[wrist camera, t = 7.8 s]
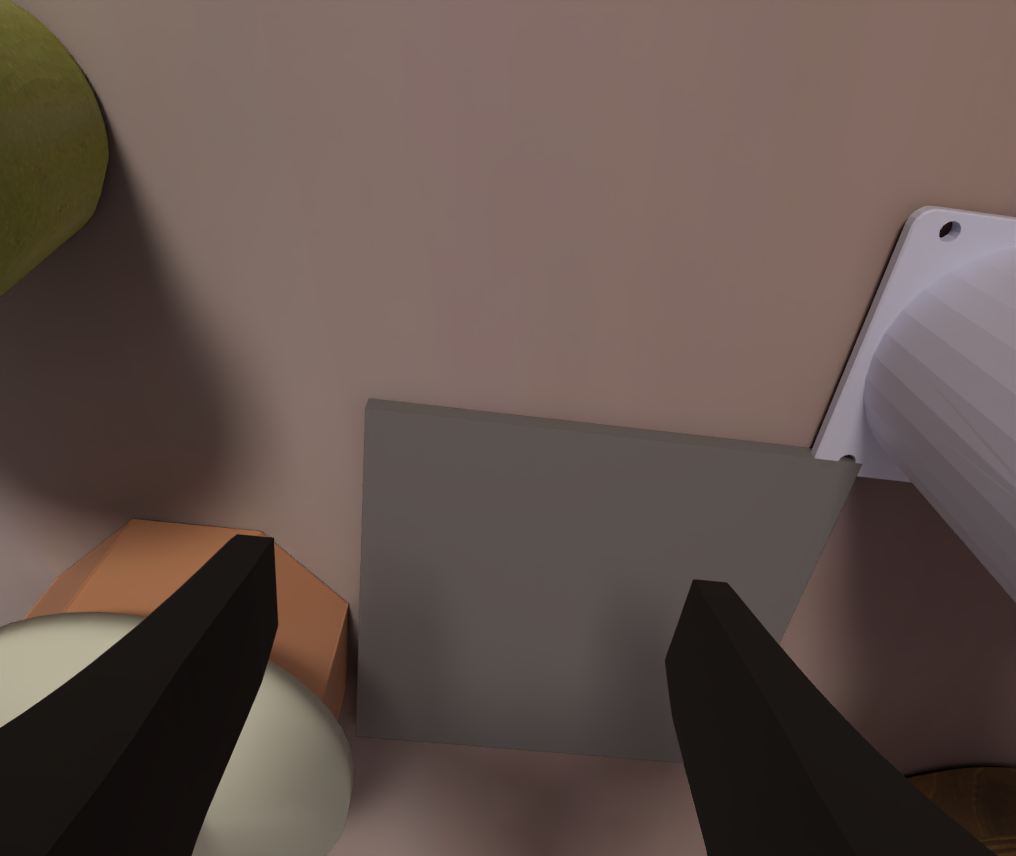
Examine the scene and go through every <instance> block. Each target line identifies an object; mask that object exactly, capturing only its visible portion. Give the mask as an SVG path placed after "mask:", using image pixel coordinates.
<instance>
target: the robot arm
mask: <svg viewBox="0 0 1016 856" xmlns="http://www.w3.org/2000/svg"><path fill="white" fill-rule="evenodd" d="M951 221H952V223H953V224H952V229H951V230H950V232H949V233H948V234H947V235H945V236H944V237H941V238H940V237H939V233H940V230H941V228H942V227H943V225H945V224H946V223H948V222H951ZM811 453H812V455H813V456H814V458H816V459H824V460H833V461H839V460H840V458H841V457H843V456H845V455H850V457H851V458H852V459H853V460H854V462H855V463H860V464H862V466H861V469H860V471H859V473H858V475H857V477H866V478H875V479H884V480H893V481H902V482H911V483H913V485H914V486H915V487H916V488H917V489H918V490H919V492H920V493H921V494H922V495H923V496H924V497H925V499H926V500H927V501H928V502H929V503H930V504H931V505H932V507H933V508H934V509H935V510H936V511H937V512H938V514H939V515H940V516H941V517H942V518H943V519H944V521H945V522H946V523H947V524H948V525H949V526H950V528H951V529H952V530H953V531H954V532H955V533H956V534H957V536H958V537H959V538H960V539H961V540H962V541H963V543H964V544H965V545H966V546H967V547H968V548H969V550H970V551H971V552H972V553H973V554H974V555H975V556H976V558H977V559H978V560H979V561H980V562H981V563H982V565H983V566H984V567H985V568H986V569H987V570H988V572H989V573H990V574H991V575H992V576H993V577H994V579H995V580H996V581H997V582H998V583H999V584H1000V585H1001V587H1002V588H1003V589H1004V590H1005V591H1006V592H1007V594H1008V595H1009V596H1010V597H1011V598H1012V599H1013V601H1014V602H1015V603H1016V217H1011V216H1003V215H996V214H989V213H981V212H974V211H967V210H960V209H952V208H945V207H938V206H924V207H922V208H920V209H917V210H916V211H915V212H914V213H913V214H911V215H910V216H909V218H908V220H907V221H906V223H905V225H904V228H903V230H902V233H901V235H900V237H899V240H898V242H897V245H896V247H895V250H894V252H893V254H892V257H891V259H890V262H889V264H888V266H887V269H886V271H885V274H884V276H883V279H882V281H881V283H880V286H879V288H878V291H877V293H876V295H875V298H874V300H873V303H872V305H871V308H870V310H869V312H868V315H867V317H866V320H865V322H864V325H863V327H862V329H861V332H860V334H859V337H858V339H857V341H856V344H855V346H854V349H853V351H852V354H851V356H850V358H849V361H848V363H847V366H846V368H845V370H844V373H843V375H842V378H841V380H840V383H839V385H838V387H837V390H836V392H835V395H834V397H833V400H832V402H831V404H830V407H829V409H828V412H827V414H826V416H825V419H824V421H823V424H822V426H821V429H820V431H819V433H818V436H817V438H816V441H815V443H814V445H813V448H812V450H811ZM825 468H826V469H827V467H825ZM828 468H829V467H828ZM825 471H826V470H825ZM277 629H278V607H277V587H276V568H275V549H274V538H272V537H262V536H252V535H242V534H236V535H235V536H234V537H232V538H231V539H230V540H229V541H228V542H227V543H226V544H225V545H224V546H223V547H222V548H221V549H219V550H218V551H217V552H216V553H215V554H214V555H213V556H212V557H211V558H210V559H209V560H208V561H207V562H206V563H205V564H204V565H203V566H202V567H201V568H200V569H199V570H198V571H197V572H196V573H195V574H194V575H192V576H191V577H190V578H189V579H188V580H187V581H186V582H185V583H184V584H183V585H182V586H181V587H180V588H179V589H177V590H176V591H175V592H174V593H173V594H172V595H171V596H170V597H169V598H167V599H166V600H165V601H164V602H163V603H162V604H161V605H160V606H159V607H157V608H156V609H155V610H154V611H153V612H152V613H151V614H150V615H148V616H147V617H146V618H145V619H144V620H143V621H142V622H140V623H139V624H138V625H137V626H136V627H135V628H133V629H132V630H131V631H130V632H129V633H127V634H126V635H125V636H124V637H122V638H121V639H120V640H119V641H118V642H116V643H115V644H114V645H113V646H111V647H110V648H109V649H108V650H107V651H105V652H104V653H103V654H102V655H100V656H99V657H98V658H97V659H95V660H94V661H93V662H92V663H90V664H89V665H88V666H87V667H85V668H84V669H83V670H81V671H80V672H79V673H77V674H76V675H75V676H73V677H72V678H71V679H69V680H68V681H67V682H65V683H64V684H63V685H61V686H60V687H59V688H57V689H56V690H55V691H53V692H52V693H50V694H49V695H47V696H46V697H45V698H43V699H42V700H40V701H39V702H38V703H36V704H35V705H33V706H32V707H30V708H29V709H28V710H26V711H25V712H23V713H22V714H20V715H19V716H17V717H16V718H14V719H13V720H11V721H10V722H8V723H7V724H5V725H3V726H2V727H0V856H192V853H193V850H194V847H195V844H196V841H197V838H198V836H199V833H200V830H201V828H202V825H203V823H204V820H205V817H206V815H207V812H208V809H209V807H210V805H211V802H212V800H213V798H214V795H215V793H216V791H217V788H218V786H219V784H220V781H221V779H222V776H223V774H224V772H225V769H226V767H227V765H228V762H229V760H230V758H231V755H232V753H233V750H234V748H235V746H236V743H237V741H238V739H239V736H240V734H241V732H242V729H243V727H244V724H245V722H246V720H247V717H248V715H249V712H250V710H251V708H252V705H253V703H254V701H255V698H256V696H257V693H258V691H259V688H260V686H261V683H262V681H263V677H264V674H265V671H266V667H267V664H268V661H269V657H270V654H271V650H272V647H273V643H274V639H275V636H276V632H277ZM665 667H666V675H667V684H668V692H669V699H670V706H671V713H672V719H673V723H674V727H675V731H676V735H677V739H678V743H679V747H680V751H681V755H682V759H683V762H684V766H685V770H686V774H687V778H688V781H689V785H690V789H691V793H692V797H693V801H694V804H695V808H696V812H697V816H698V820H699V823H700V827H701V831H702V835H703V839H704V842H705V846H706V851H707V855H708V856H998V855H996V854H995V853H994V852H993V851H991V850H990V849H989V848H987V847H986V846H985V845H984V844H983V843H981V842H980V841H979V840H978V839H976V838H975V837H974V836H973V835H972V834H970V833H969V832H968V831H967V830H966V829H964V828H963V827H962V826H961V825H959V824H958V823H957V822H956V821H955V820H953V819H952V818H951V817H950V816H948V815H947V814H946V813H945V812H944V811H942V810H941V809H940V808H939V807H938V806H937V805H935V804H934V803H933V802H932V801H931V800H930V799H929V798H927V797H926V796H925V795H924V794H923V793H922V792H921V791H919V790H918V789H917V788H916V787H915V786H914V785H913V784H912V783H911V782H910V781H909V780H907V779H906V778H905V777H904V776H903V775H902V774H901V773H900V772H899V771H898V770H897V769H896V768H894V767H893V766H892V765H891V764H890V763H889V762H888V761H887V760H886V759H885V758H884V757H883V756H882V755H880V754H879V753H878V752H877V751H876V750H875V749H874V748H873V747H872V746H871V745H870V744H869V743H868V742H867V741H866V740H865V739H864V738H863V737H862V736H861V735H860V734H859V733H858V732H857V731H856V730H855V729H854V728H853V726H852V725H851V724H850V723H849V722H848V721H847V720H846V719H845V718H844V717H843V716H842V715H841V714H840V713H839V712H838V711H837V710H836V709H835V708H834V707H833V706H832V705H831V703H830V702H829V701H828V700H827V699H826V698H825V697H824V696H823V695H822V694H821V692H820V691H819V690H818V689H817V688H816V687H815V686H814V685H813V684H812V683H811V681H810V680H809V679H808V678H807V677H806V676H805V675H804V673H803V672H802V671H801V670H800V669H799V668H798V667H797V665H796V664H795V663H794V662H793V661H792V660H791V658H790V657H789V656H788V655H787V654H786V652H785V651H784V650H783V649H782V648H781V647H780V645H779V644H778V643H777V642H776V641H775V639H774V638H773V637H772V636H771V635H770V633H769V632H768V631H767V630H766V628H765V627H764V626H763V625H762V624H761V622H760V621H759V620H758V619H757V618H756V616H755V615H754V614H753V613H752V611H751V610H750V609H749V608H748V607H747V605H746V604H745V603H744V602H743V600H742V599H741V598H740V597H739V596H738V594H737V593H736V592H735V591H734V590H733V588H732V587H731V586H730V585H729V584H728V583H727V582H718V581H708V580H698V579H693V581H692V584H691V587H690V589H689V592H688V595H687V598H686V601H685V604H684V607H683V609H682V612H681V615H680V618H679V621H678V624H677V627H676V629H675V632H674V635H673V638H672V641H671V644H670V646H669V649H668V652H667V655H666V658H665Z"/></svg>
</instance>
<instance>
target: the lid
mask: <svg viewBox="0 0 1016 856" xmlns="http://www.w3.org/2000/svg"><path fill="white" fill-rule="evenodd" d="M145 618H146V617H145V616H139V615H132V614H124V613H108V612H69V613H58V614H51V615H43V616H36V617H32V618H28V619H24V620H20V621H16V622H12V623H9V624H7V625H4V626H2V627H0V727H2V726H3V725H5V724H7V723H8V722H10V721H11V720H13V719H14V718H16V717H17V716H19V715H20V714H22V713H23V712H25V711H26V710H28V709H29V708H30V707H32V706H33V705H35V704H36V703H38V702H39V701H40V700H42V699H43V698H45V697H46V696H47V695H49V694H50V693H52V692H53V691H55V690H56V689H57V688H59V687H60V686H61V685H63V684H64V683H65V682H67V681H68V680H69V679H71V678H72V677H73V676H75V675H76V674H77V673H79V672H80V671H81V670H83V669H84V668H85V667H87V666H88V665H89V664H90V663H92V662H93V661H94V660H95V659H97V658H98V657H99V656H100V655H102V654H103V653H104V652H105V651H107V650H108V649H109V648H110V647H111V646H113V645H114V644H115V643H116V642H118V641H119V640H120V639H121V638H122V637H124V636H125V635H126V634H127V633H129V632H130V631H131V630H132V629H133V628H135V627H136V626H137V625H138V624H139V623H140V622H142V621H143V620H144V619H145ZM353 783H354V760H353V756H352V752H351V748H350V745H349V742H348V740H347V738H346V736H345V734H344V731H343V729H342V727H341V726H340V725H339V723H338V722H337V720H336V719H335V717H334V716H333V714H332V713H331V711H330V710H329V709H328V708H327V707H326V706H325V704H324V703H323V702H322V701H321V700H320V699H319V698H318V697H317V696H316V694H314V693H313V692H312V691H311V690H310V689H309V688H307V687H306V686H305V685H304V684H303V683H302V682H301V681H299V680H298V679H297V678H296V677H294V676H293V675H291V674H290V673H288V672H287V671H286V670H284V669H283V668H281V667H280V666H278V665H277V664H275V663H274V662H272V661H270V660H269V661H268V664H267V667H266V671H265V674H264V677H263V681H262V683H261V686H260V688H259V691H258V693H257V696H256V698H255V701H254V703H253V705H252V708H251V710H250V712H249V715H248V717H247V720H246V722H245V724H244V727H243V729H242V732H241V734H240V736H239V739H238V741H237V743H236V746H235V748H234V750H233V753H232V755H231V758H230V760H229V762H228V765H227V767H226V769H225V772H224V774H223V776H222V779H221V781H220V784H219V786H218V788H217V791H216V793H215V795H214V798H213V800H212V802H211V805H210V807H209V809H208V812H207V815H206V817H205V820H204V823H203V825H202V828H201V830H200V833H199V836H198V838H197V841H196V844H195V847H194V850H193V853H192V856H326V855H327V854H328V853H329V852H330V851H331V849H332V848H333V846H334V845H335V844H336V842H337V841H338V839H339V838H340V836H341V833H342V831H343V829H344V826H345V824H346V819H347V814H348V809H349V804H350V799H351V794H352V789H353Z"/></svg>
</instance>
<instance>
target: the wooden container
mask: <svg viewBox="0 0 1016 856" xmlns="http://www.w3.org/2000/svg"><path fill="white" fill-rule="evenodd" d="M906 779H907V780H909V781H910V782H911V783H912V784H913V785H914V786H915V787H916V788H917V789H918V790H919V791H921V792H922V793H923V794H924V795H925V796H926V797H927V798H929V799H930V800H931V801H932V802H933V803H934V804H935V805H937V806H938V807H939V808H940V809H941V810H942V811H944V812H945V813H946V814H947V815H948V816H950V817H951V818H952V819H953V820H955V821H956V822H957V823H958V824H959V825H961V826H962V827H963V828H964V829H966V830H967V831H968V832H969V833H970V834H972V835H973V836H974V837H975V838H976V839H978V840H979V841H980V842H981V843H983V844H984V845H985V846H986V847H987V848H989V849H990V850H991V851H993V852H994V853H995V854H996V855H998V856H1016V768H1006V767H974V768H961V769H952V770H945V771H938V772H933V773H928V774H923V775H918V776H914V777H910V778H906Z"/></svg>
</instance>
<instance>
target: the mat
mask: <svg viewBox="0 0 1016 856" xmlns="http://www.w3.org/2000/svg"><path fill="white" fill-rule="evenodd" d="M811 450H812V448H804V447H795V446H787V445H778V444H769V443H760V442H751V441H742V440H733V439H724V438H715V437H706V436H698V435H689V434H680V433H671V432H662V431H653V430H644V429H635V428H626V427H617V426H609V425H600V424H591V423H582V422H573V421H564V420H555V419H546V418H537V417H528V416H520V415H511V414H502V413H493V412H484V411H475V410H466V409H457V408H448V407H439V406H431V405H422V404H413V403H404V402H395V401H386V400H377V399H368V402H367V405H366V408H365V432H364V467H363V501H362V536H361V570H360V605H359V639H358V674H357V708H356V736H358V737H370V738H382V739H395V740H407V741H419V742H432V743H444V744H456V745H469V746H481V747H493V748H506V749H518V750H530V751H543V752H555V753H567V754H580V755H592V756H604V757H617V758H629V759H641V760H654V761H666V762H678V763H684V762H683V759H682V755H681V751H680V747H679V743H678V739H677V735H676V731H675V727H674V723H673V719H672V713H671V706H670V699H669V692H668V684H667V675H666V667H665V658H666V655H667V652H668V649H669V646H670V644H671V641H672V638H673V635H674V632H675V629H676V627H677V624H678V621H679V618H680V615H681V612H682V609H683V607H684V604H685V601H686V598H687V595H688V592H689V589H690V587H691V584H692V581H693V579H698V580H708V581H718V582H727V583H728V584H729V585H730V586H731V587H732V588H733V590H734V591H735V592H736V593H737V594H738V596H739V597H740V598H741V599H742V600H743V602H744V603H745V604H746V605H747V607H748V608H749V609H750V610H751V611H752V613H753V614H754V615H755V616H756V618H757V619H758V620H759V621H760V622H761V624H762V625H763V626H764V627H765V628H766V630H767V631H768V632H769V633H770V635H771V636H772V637H773V638H774V639H775V641H776V642H777V643H778V644H780V641H781V639H782V637H783V635H784V633H785V631H786V629H787V626H788V624H789V622H790V620H791V618H792V616H793V613H794V611H795V609H796V607H797V605H798V603H799V600H800V598H801V596H802V594H803V592H804V590H805V587H806V585H807V583H808V581H809V579H810V577H811V574H812V572H813V570H814V568H815V566H816V564H817V562H818V559H819V557H820V555H821V553H822V551H823V549H824V546H825V544H826V542H827V540H828V538H829V536H830V533H831V531H832V529H833V527H834V525H835V523H836V520H837V518H838V516H839V514H840V512H841V510H842V507H843V505H844V503H845V501H846V499H847V497H848V495H849V492H850V490H851V488H852V486H853V484H854V482H855V479H856V477H857V475H858V473H859V471H860V469H861V466H862V464H860V463H855V462H854V460H853V459H852V458H851V457H850V455H845V456H843V457H841V458H840V460H839V461H833V460H824V459H816V458H814V456H813V455H812V453H811ZM825 467H827V469H826V468H825ZM828 467H829V468H828ZM825 470H826V471H825Z"/></svg>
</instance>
